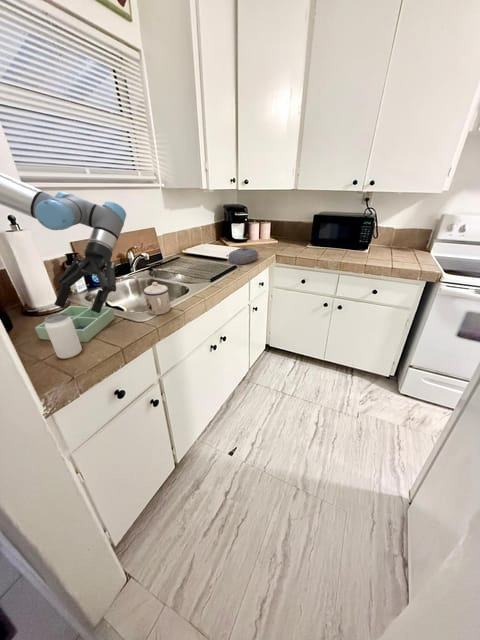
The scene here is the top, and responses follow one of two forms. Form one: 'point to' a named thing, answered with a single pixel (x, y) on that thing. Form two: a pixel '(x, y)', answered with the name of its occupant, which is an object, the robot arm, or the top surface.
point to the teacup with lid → (157, 299)
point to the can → (63, 335)
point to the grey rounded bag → (243, 256)
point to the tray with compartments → (83, 322)
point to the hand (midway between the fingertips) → (76, 309)
